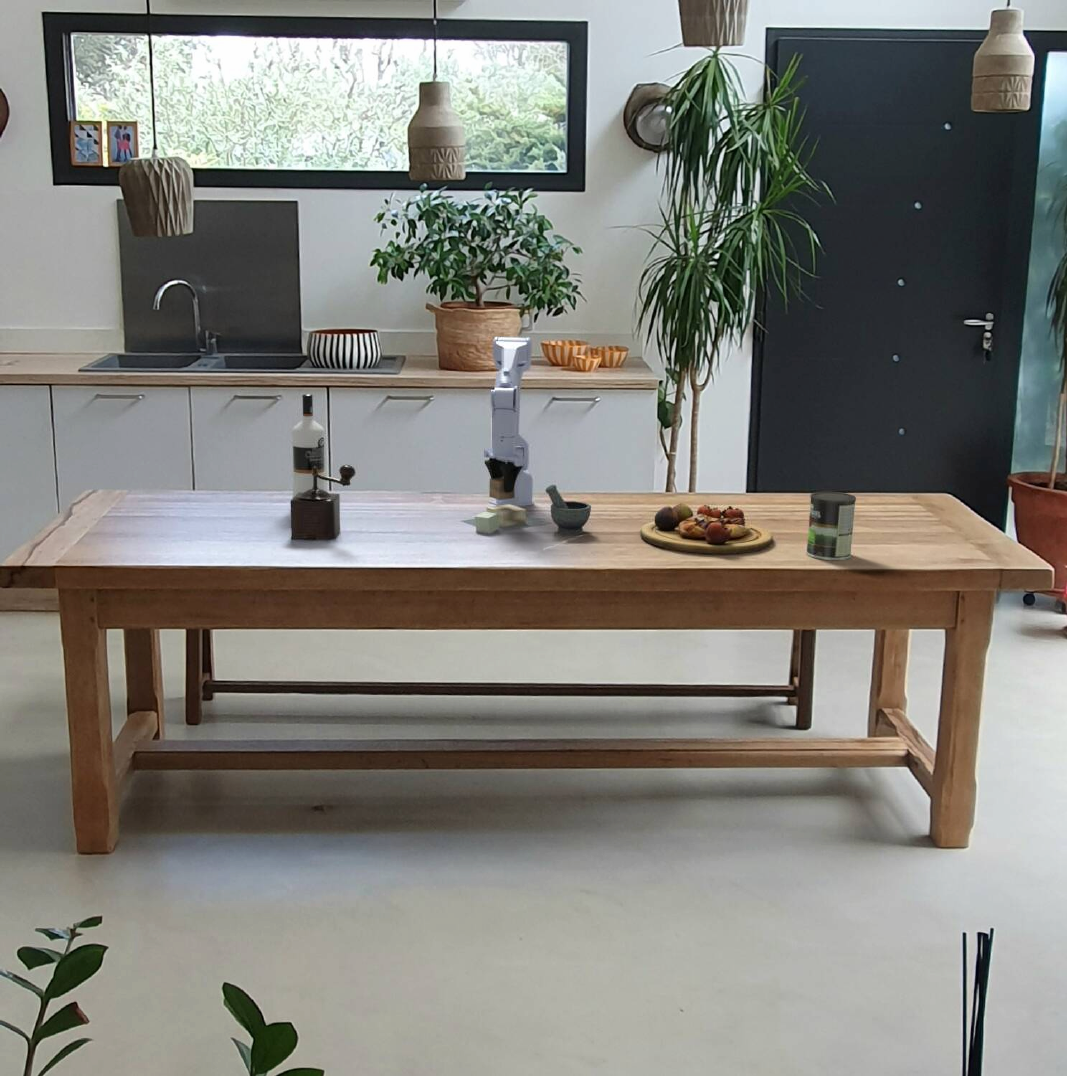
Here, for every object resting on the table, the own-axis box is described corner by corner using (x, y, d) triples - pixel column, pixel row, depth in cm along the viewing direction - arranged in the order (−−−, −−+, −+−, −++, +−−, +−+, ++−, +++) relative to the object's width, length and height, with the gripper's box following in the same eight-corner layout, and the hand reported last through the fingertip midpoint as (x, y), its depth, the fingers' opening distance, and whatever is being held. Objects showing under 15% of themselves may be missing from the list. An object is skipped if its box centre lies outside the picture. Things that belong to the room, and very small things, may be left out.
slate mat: (518, 513, 348) (518, 512, 348) (551, 524, 337) (551, 523, 337) (460, 522, 337) (460, 520, 337) (492, 533, 326) (492, 532, 326)
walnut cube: (504, 494, 339) (504, 477, 338) (514, 498, 335) (514, 480, 334) (489, 496, 336) (489, 478, 335) (499, 500, 333) (499, 482, 332)
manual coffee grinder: (289, 540, 316) (287, 465, 311) (298, 529, 327) (296, 456, 322) (355, 542, 315) (354, 466, 311) (362, 531, 326) (361, 458, 322)
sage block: (485, 527, 331) (484, 511, 329) (499, 529, 328) (497, 513, 327) (476, 532, 327) (474, 516, 326) (489, 533, 325) (488, 518, 324)
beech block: (509, 517, 342) (509, 504, 341) (525, 523, 336) (525, 509, 335) (486, 520, 338) (486, 507, 337) (502, 526, 332) (502, 512, 331)
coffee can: (813, 560, 308) (817, 500, 304) (800, 549, 318) (805, 491, 314) (857, 560, 309) (862, 500, 305) (843, 549, 319) (848, 491, 315)
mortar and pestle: (587, 528, 334) (588, 480, 331) (593, 537, 325) (594, 488, 322) (542, 528, 333) (543, 480, 330) (546, 537, 324) (548, 488, 321)
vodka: (307, 504, 353) (305, 390, 345) (335, 509, 348) (333, 393, 341) (283, 511, 345) (281, 394, 338) (312, 516, 340) (309, 397, 333)
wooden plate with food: (770, 561, 308) (773, 526, 306) (632, 550, 314) (634, 515, 312) (773, 532, 338) (776, 499, 337) (647, 522, 344) (649, 490, 342)
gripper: (474, 432, 335) (473, 486, 339) (507, 441, 324) (506, 497, 327) (497, 430, 340) (496, 483, 343) (531, 439, 328) (529, 493, 331)
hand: (503, 489), depth 335 cm, fingers closed on walnut cube, 4 cm apart
